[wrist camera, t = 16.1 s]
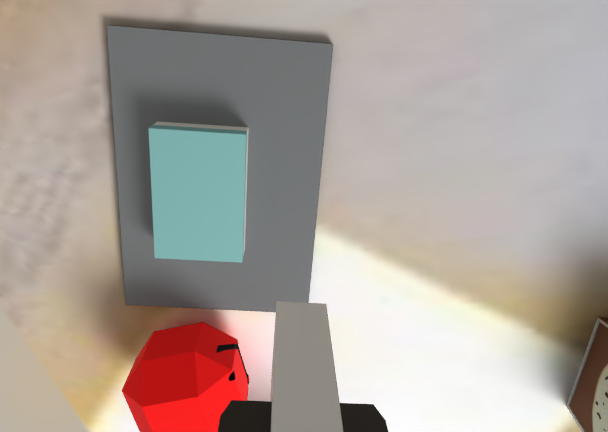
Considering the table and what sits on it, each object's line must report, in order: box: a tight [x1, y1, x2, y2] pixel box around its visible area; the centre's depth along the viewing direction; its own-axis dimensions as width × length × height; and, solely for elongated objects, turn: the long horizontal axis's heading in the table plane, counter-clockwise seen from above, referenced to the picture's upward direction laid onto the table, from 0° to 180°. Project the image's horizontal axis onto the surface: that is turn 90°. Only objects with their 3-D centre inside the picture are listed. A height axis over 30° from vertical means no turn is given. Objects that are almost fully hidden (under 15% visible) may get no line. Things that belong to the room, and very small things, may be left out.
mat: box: [107, 25, 333, 312], centre depth 34 cm, size 20×14×1 cm
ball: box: [122, 322, 249, 432], centre depth 36 cm, size 8×8×8 cm
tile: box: [149, 121, 249, 263], centre depth 33 cm, size 9×2×6 cm
